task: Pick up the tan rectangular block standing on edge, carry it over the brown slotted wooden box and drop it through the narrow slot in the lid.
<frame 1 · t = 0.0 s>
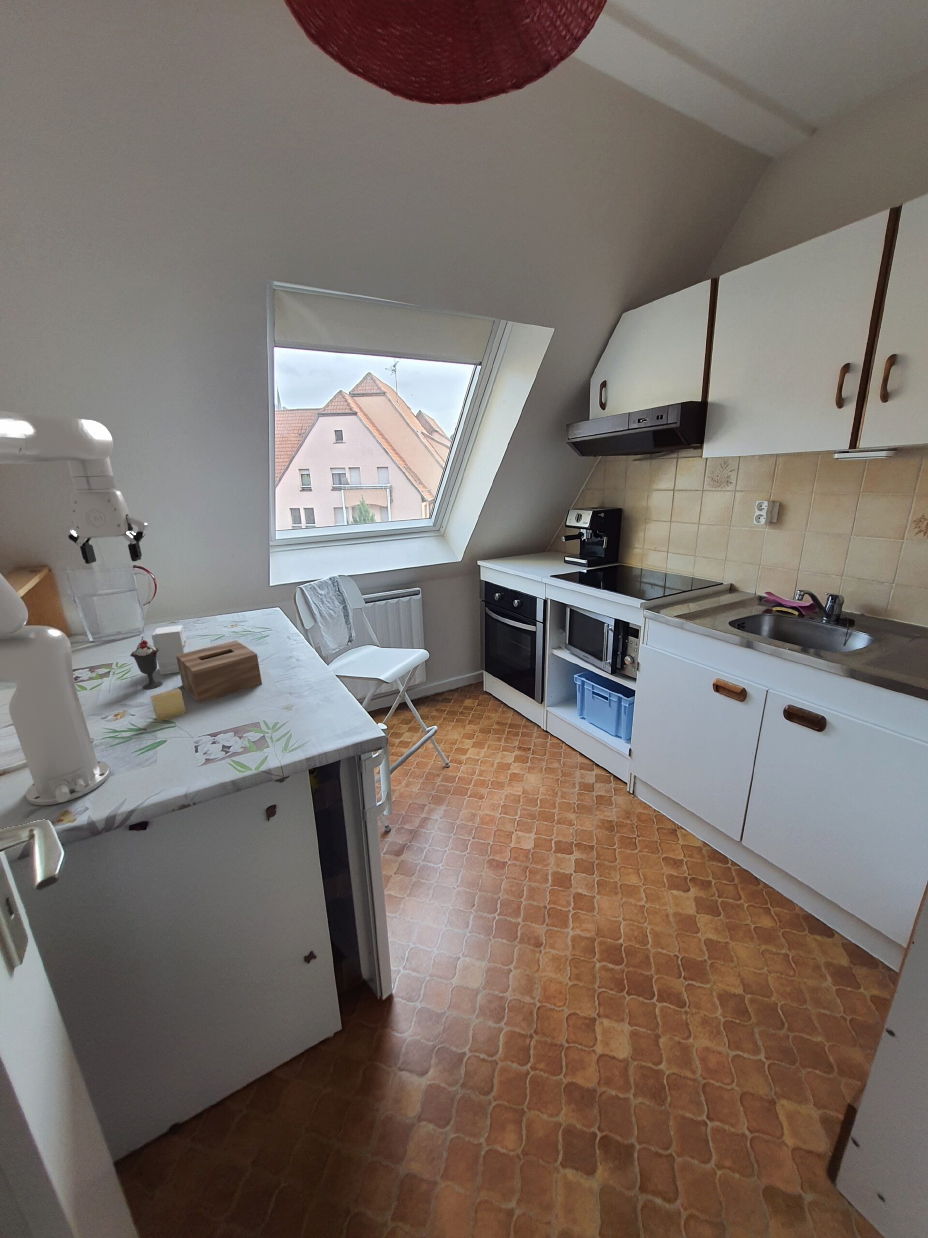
hand: (114, 561, 111), 37 cm above the worktop, tool pointing down, fingers open, 9 cm apart
tan rectangular block: (171, 715, 117), on the worktop
brown slotted wooden box: (222, 684, 134), on the worktop
sundae: (153, 686, 135), on the worktop
supplement box: (176, 669, 146), on the worktop
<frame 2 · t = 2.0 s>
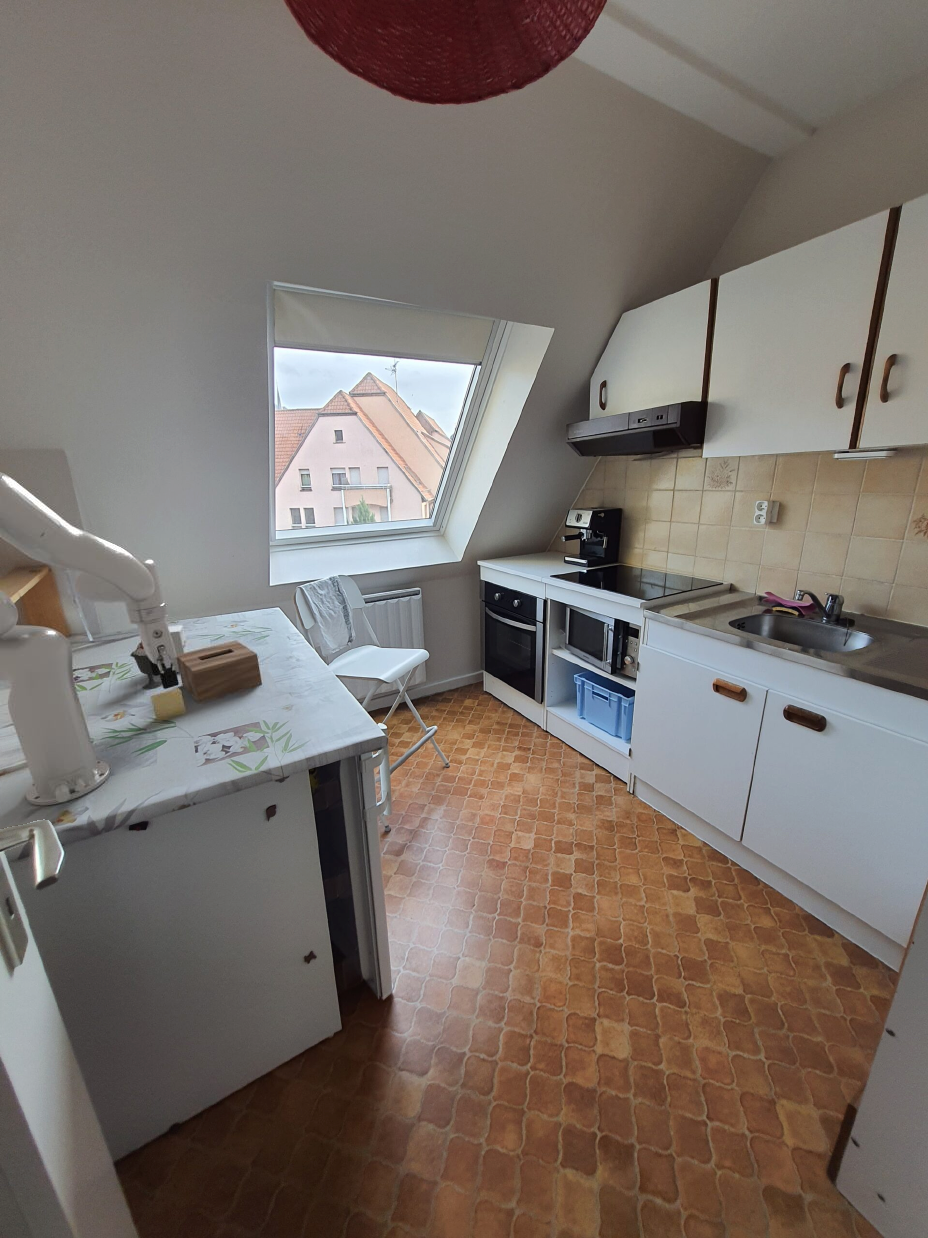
hand: (165, 680, 115), 9 cm above the worktop, tool pointing down, fingers open, 9 cm apart
nothing on the worktop moved.
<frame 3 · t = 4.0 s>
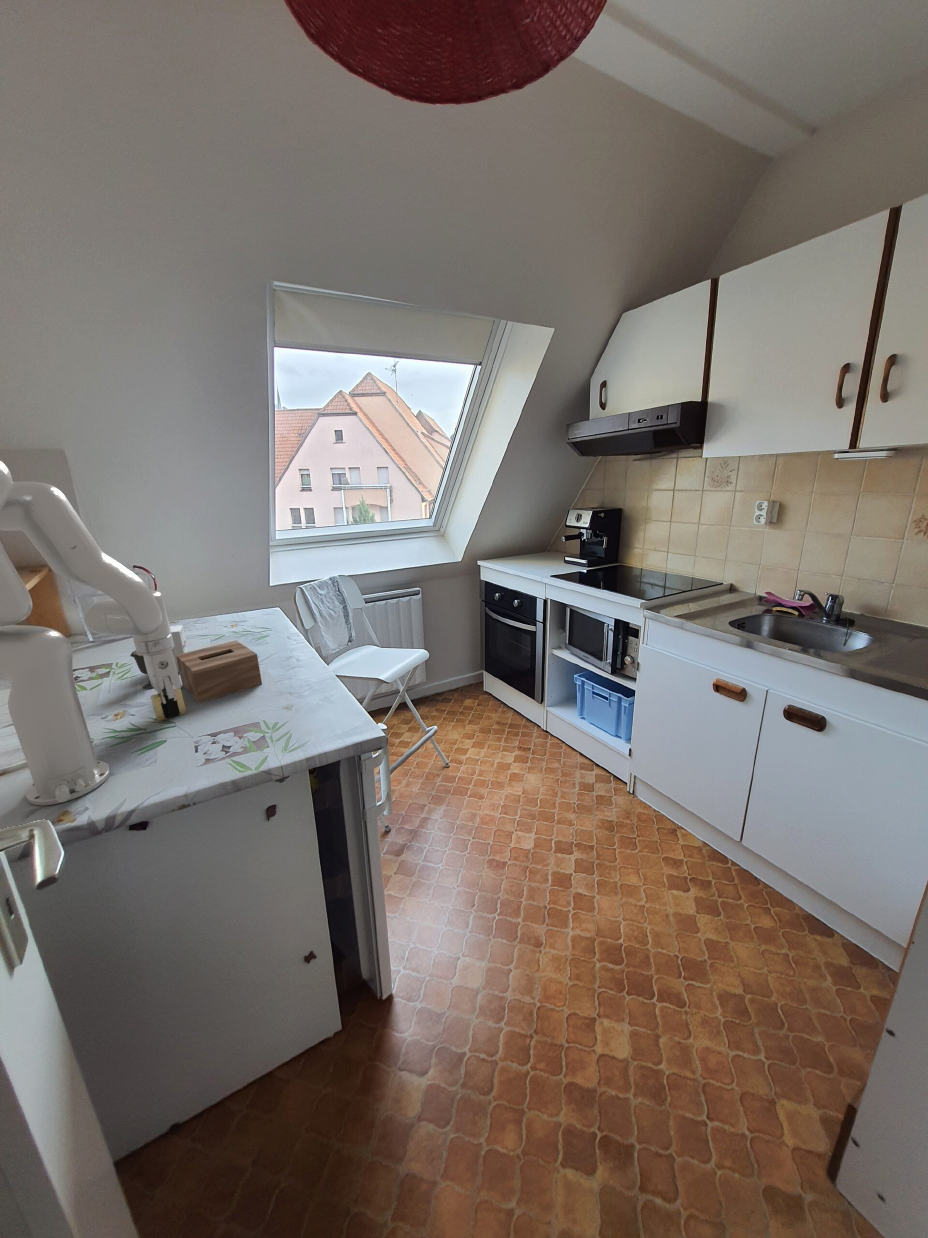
hand: (170, 714, 117), 0 cm above the worktop, tool pointing down, fingers closed on tan rectangular block, 2 cm apart
tan rectangular block: (171, 715, 117), on the worktop, touching gripper
everything else where it was.
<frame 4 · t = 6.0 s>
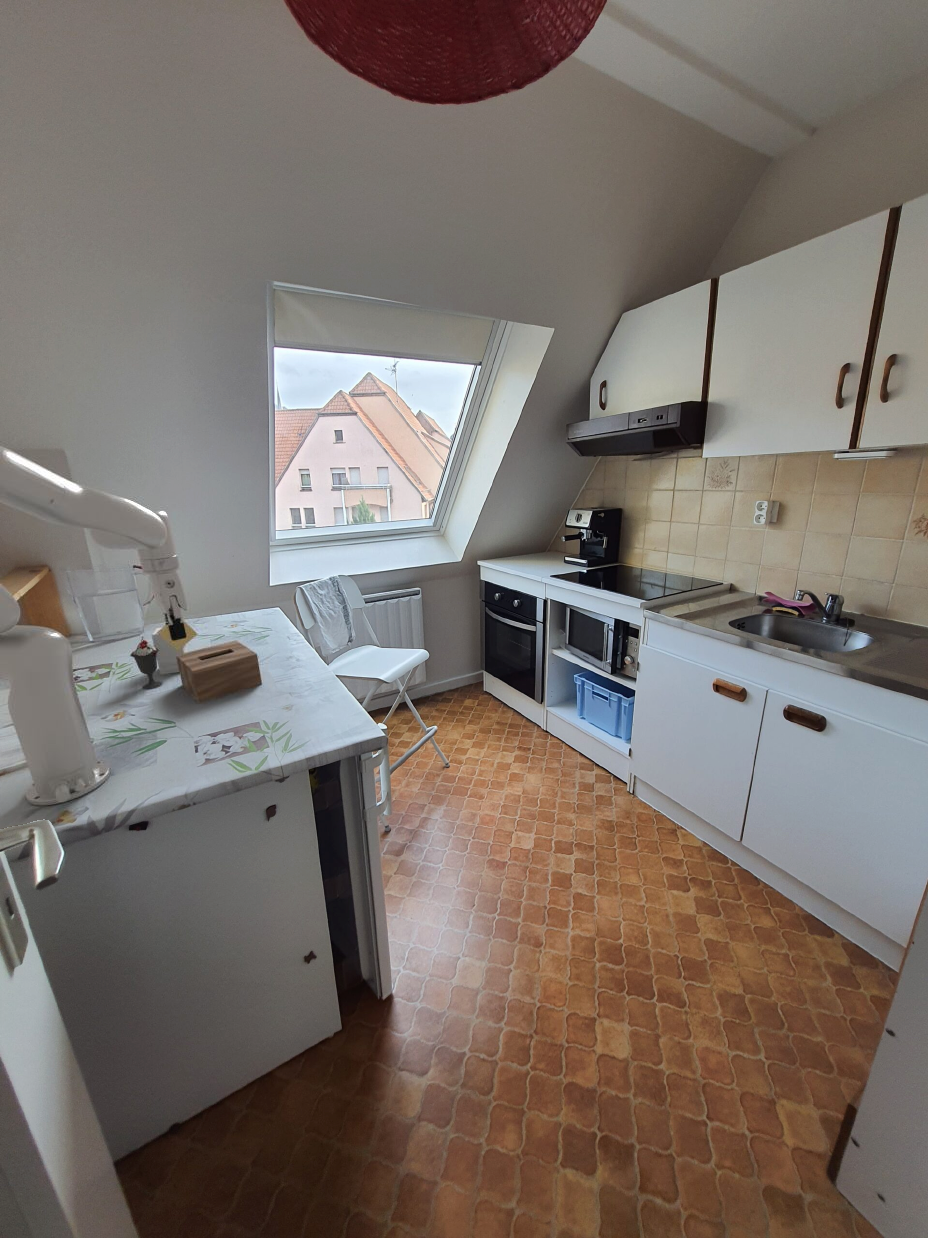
hand: (177, 637, 118), 18 cm above the worktop, tool pointing down, fingers closed on tan rectangular block
tan rectangular block: (186, 641, 120), point 16 cm above the worktop, tilted 31°, touching gripper
everything else where it was.
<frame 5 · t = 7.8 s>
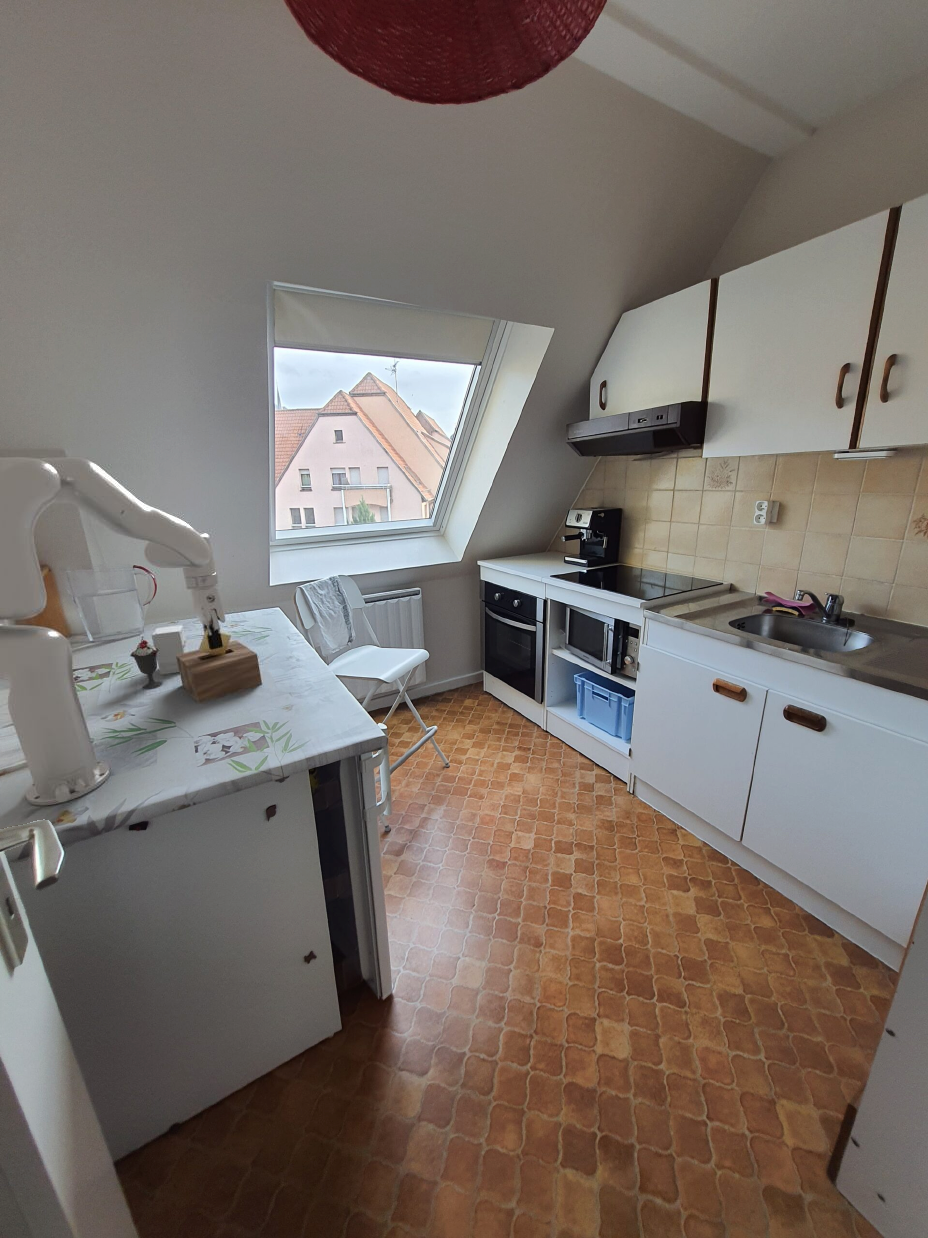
hand: (214, 646, 131), 11 cm above the worktop, tool pointing down, fingers closed on tan rectangular block
tan rectangular block: (226, 645, 133), point 11 cm above the worktop, tilted 62°, touching gripper
everything else where it was.
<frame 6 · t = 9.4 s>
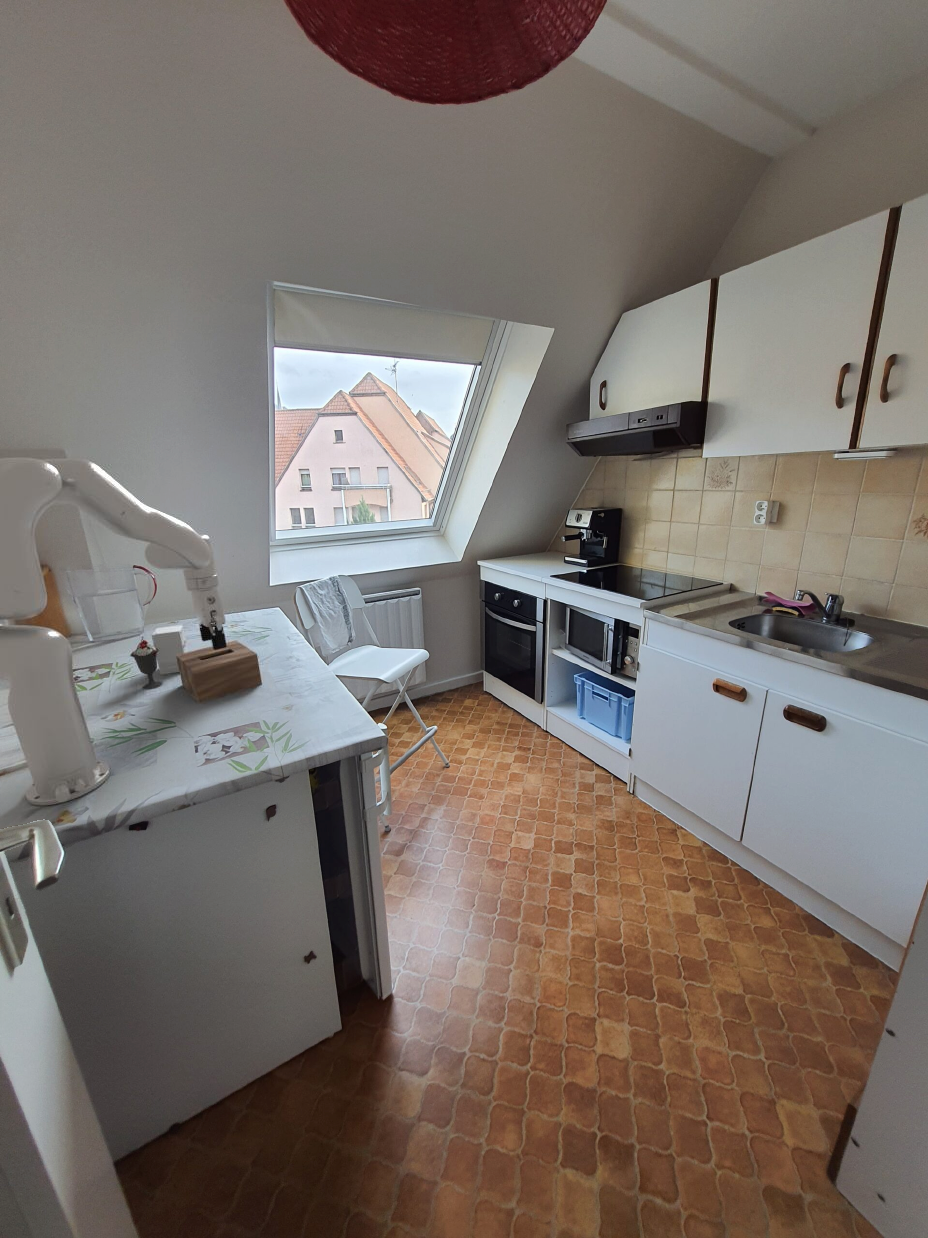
hand: (214, 644, 130), 12 cm above the worktop, tool pointing down, fingers open, 9 cm apart
tan rectangular block: (229, 672, 135), point 3 cm above the worktop, tilted 90°
everything else where it was.
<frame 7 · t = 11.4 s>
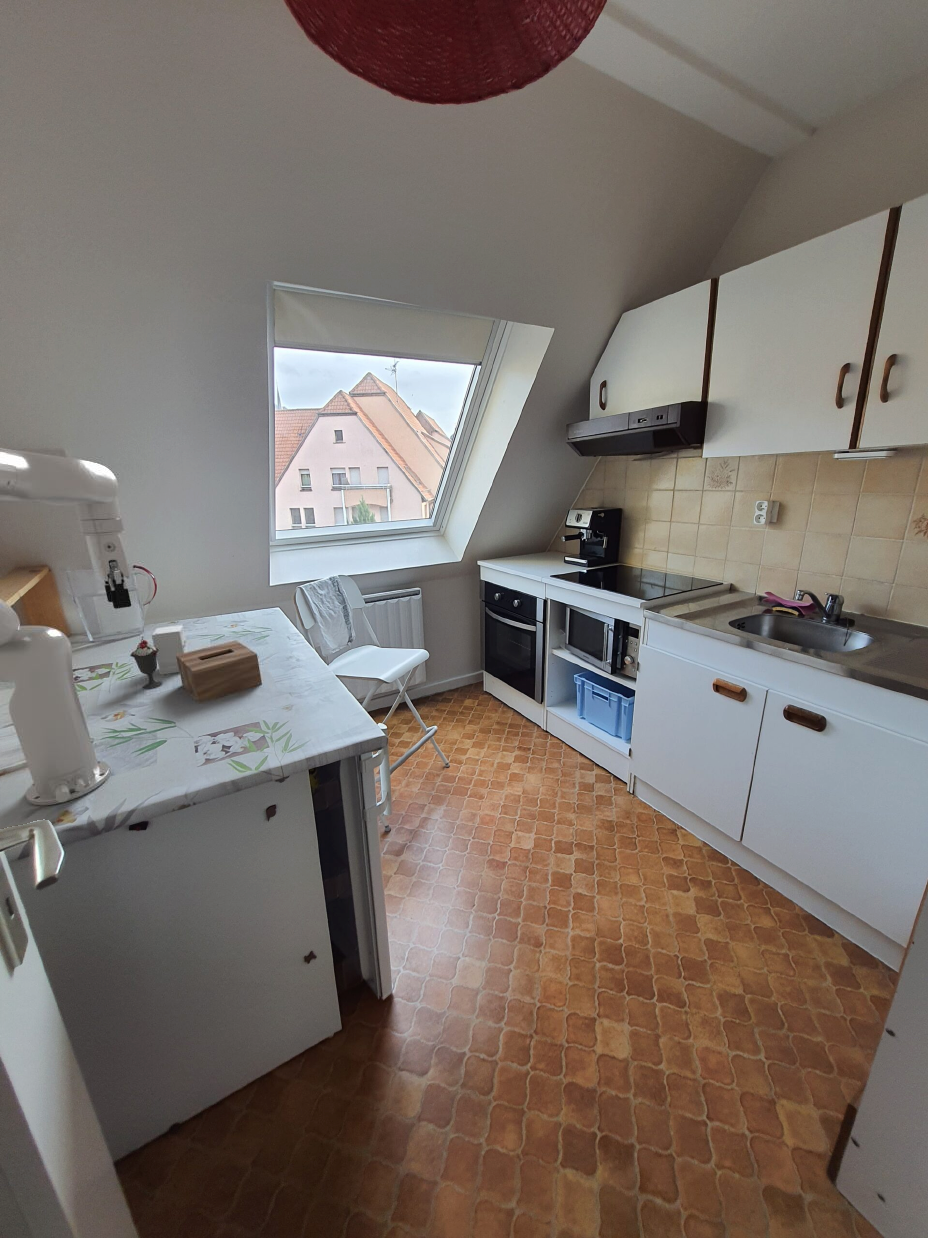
hand: (119, 604, 109), 28 cm above the worktop, tool pointing down, fingers open, 9 cm apart
nothing on the worktop moved.
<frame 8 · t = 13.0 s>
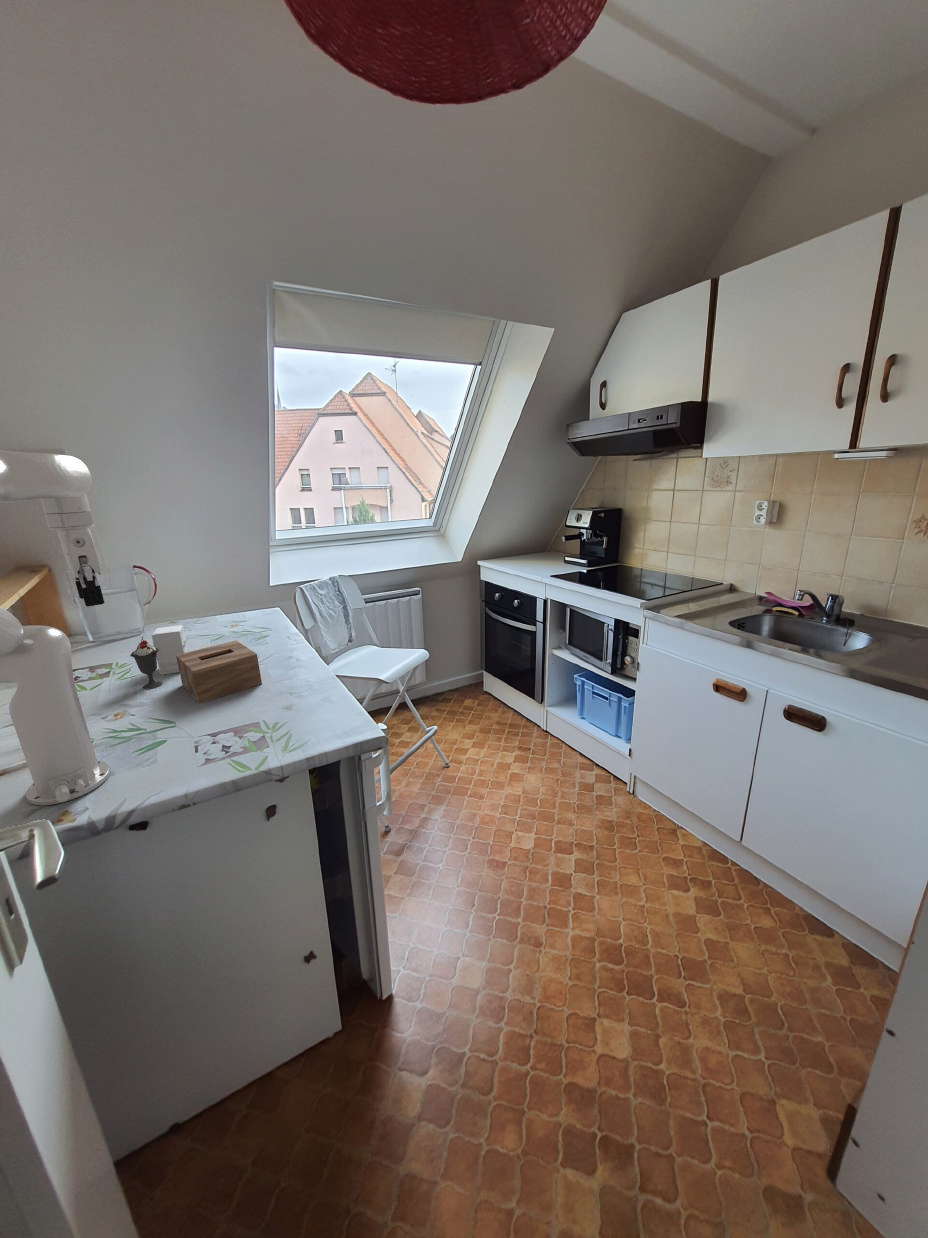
hand: (91, 601, 104), 30 cm above the worktop, tool pointing down, fingers open, 9 cm apart
nothing on the worktop moved.
at the end: tan rectangular block inside the target area on the brown slotted wooden box (2.4 cm from its centre), point 2.9 cm above the brown slotted wooden box's base; the gripper is holding nothing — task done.
